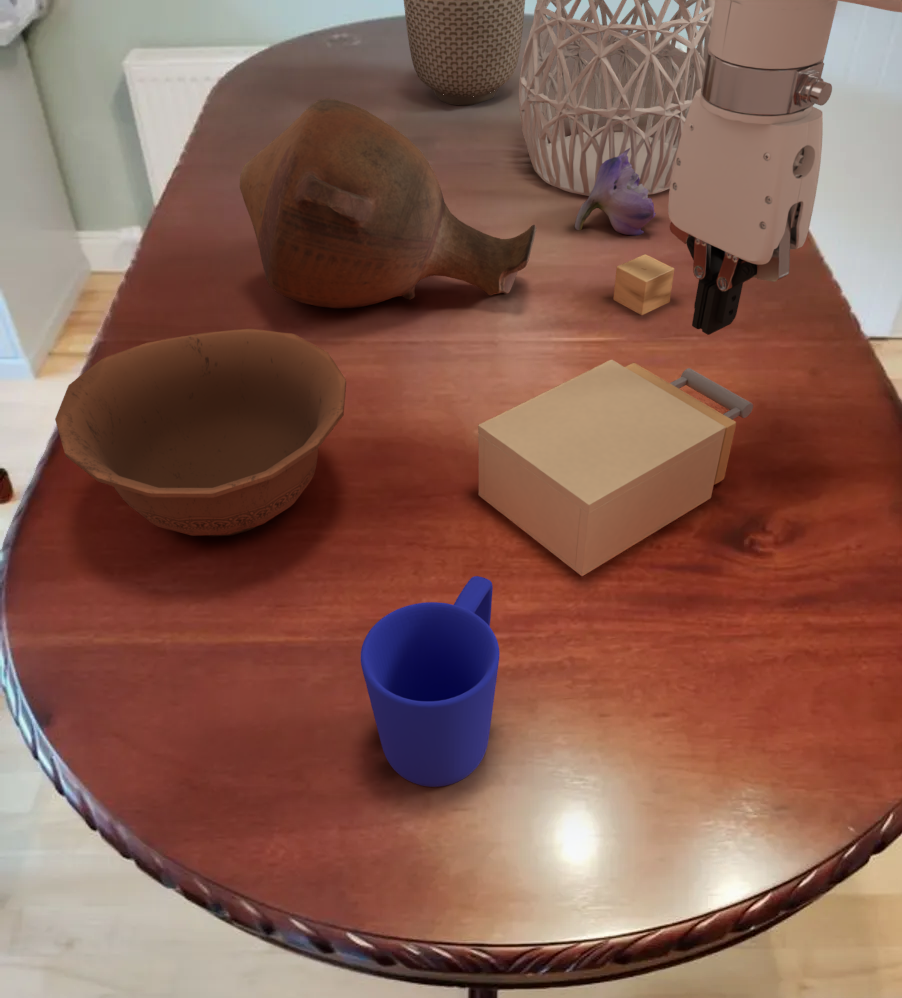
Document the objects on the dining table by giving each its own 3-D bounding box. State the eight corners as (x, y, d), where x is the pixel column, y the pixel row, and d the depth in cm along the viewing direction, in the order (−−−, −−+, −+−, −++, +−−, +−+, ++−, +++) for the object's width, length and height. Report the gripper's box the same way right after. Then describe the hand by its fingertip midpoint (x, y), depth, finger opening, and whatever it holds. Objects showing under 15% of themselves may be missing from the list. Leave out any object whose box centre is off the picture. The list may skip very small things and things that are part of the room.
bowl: (154, 418, 93) (124, 312, 85) (384, 438, 90) (375, 330, 82) (49, 583, 78) (0, 472, 70) (321, 614, 75) (302, 502, 67)
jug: (221, 325, 104) (500, 388, 104) (201, 159, 88) (533, 234, 87) (276, 204, 115) (530, 261, 115) (268, 35, 98) (565, 101, 98)
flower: (573, 194, 109) (647, 137, 109) (549, 196, 117) (618, 142, 117) (616, 266, 113) (687, 211, 112) (590, 263, 121) (656, 212, 120)
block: (640, 290, 107) (645, 253, 104) (669, 305, 105) (674, 268, 102) (612, 303, 106) (616, 266, 103) (641, 319, 103) (645, 281, 100)
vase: (521, 130, 139) (528, -134, 118) (698, 132, 137) (737, -136, 115) (512, 207, 122) (518, -84, 101) (713, 210, 120) (762, -86, 99)
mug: (537, 684, 70) (543, 582, 63) (466, 821, 62) (464, 724, 55) (431, 649, 72) (426, 547, 65) (351, 777, 65) (334, 678, 58)
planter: (384, 101, 148) (375, -23, 137) (454, 67, 157) (452, -51, 146) (478, 126, 140) (477, -3, 129) (545, 89, 150) (551, -34, 138)
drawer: (667, 396, 92) (675, 340, 88) (765, 454, 86) (779, 397, 81) (513, 478, 84) (514, 421, 80) (608, 549, 78) (614, 491, 74)
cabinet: (603, 432, 90) (611, 358, 84) (710, 502, 83) (726, 426, 77) (478, 499, 84) (477, 424, 78) (581, 580, 77) (588, 504, 71)
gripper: (889, 99, 64) (818, 348, 78) (712, 41, 73) (675, 275, 86) (815, 128, 61) (754, 383, 74) (640, 64, 69) (612, 304, 83)
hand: (712, 324), depth 80 cm, fingers closed
